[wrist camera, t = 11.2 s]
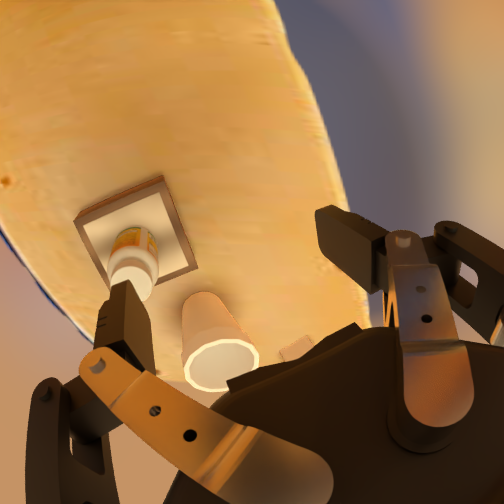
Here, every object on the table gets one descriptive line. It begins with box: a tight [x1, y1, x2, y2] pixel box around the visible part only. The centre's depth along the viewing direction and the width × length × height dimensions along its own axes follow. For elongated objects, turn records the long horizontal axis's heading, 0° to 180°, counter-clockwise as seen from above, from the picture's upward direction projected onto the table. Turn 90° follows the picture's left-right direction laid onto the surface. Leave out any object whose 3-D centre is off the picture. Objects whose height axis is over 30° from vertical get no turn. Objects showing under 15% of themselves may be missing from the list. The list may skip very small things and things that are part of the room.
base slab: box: [73, 176, 198, 292], centre depth 35 cm, size 12×12×4 cm
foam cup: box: [181, 291, 259, 392], centre depth 39 cm, size 10×9×13 cm
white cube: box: [280, 336, 314, 362], centre depth 53 cm, size 6×6×6 cm
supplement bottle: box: [107, 226, 159, 302], centre depth 29 cm, size 5×5×10 cm
